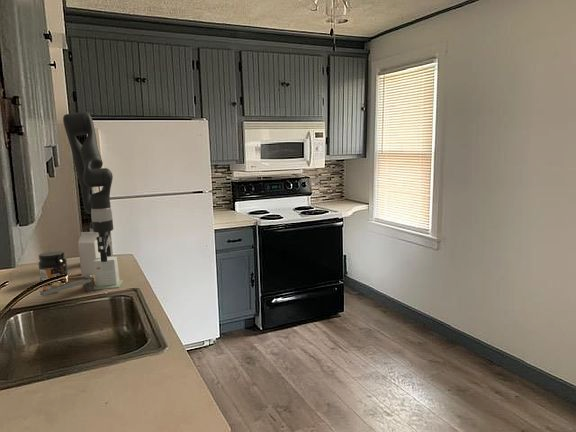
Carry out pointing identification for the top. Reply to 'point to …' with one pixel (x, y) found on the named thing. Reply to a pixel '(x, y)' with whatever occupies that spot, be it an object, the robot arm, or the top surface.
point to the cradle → (72, 279)
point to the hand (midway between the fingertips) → (106, 258)
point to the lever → (65, 286)
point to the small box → (106, 271)
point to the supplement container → (52, 264)
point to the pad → (108, 286)
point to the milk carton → (88, 252)
